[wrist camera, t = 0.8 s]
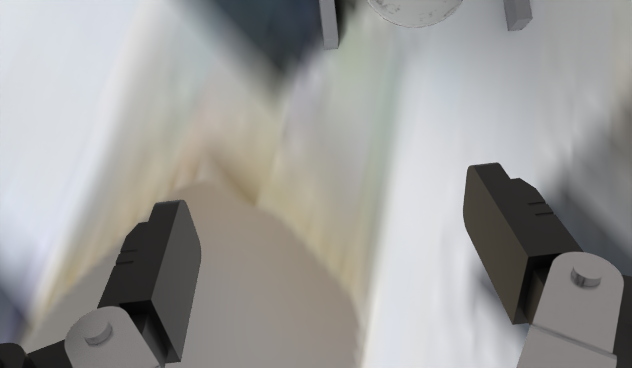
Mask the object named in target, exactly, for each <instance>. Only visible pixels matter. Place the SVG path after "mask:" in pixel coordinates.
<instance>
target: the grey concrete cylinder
mask: <svg viewBox="0 0 632 368" xmlns="http://www.w3.org/2000/svg"><path fill="white" fill-rule="evenodd" d="M367 1H368V3H369V4H370V5H371V7H372V8H373V9H374V10H375V11H376V12H377V13H378V14H379V15H381V16H382V17H383V18H384V19H386V20H388V21H390V22H392V23H394V24H397V25H401V26H405V27H425V26H430V25H434V24H436V23H438V22H440V21H443V20H444V19H446V18H447V17H448V16H450V15H451V14H452V13H453V12H454V11H455V10H456V9H457V8H458V7H459V5H460V4H461V2H462V0H367Z"/></svg>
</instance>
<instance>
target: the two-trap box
mask: <svg viewBox="0 0 632 368" xmlns="http://www.w3.org/2000/svg"><path fill="white" fill-rule="evenodd" d="M503 1H504V7H505V13H506V19H507V25H508V31H512V30H522V29H523V28H524V27H525V26H526V25H527V24H528V23H529V21H530V20H531V19H532V13H531V8H530V2H529V0H503ZM319 8H320V17H321V27H322V36H323V45H324V50H328V49H338V31H337V22H336V13H335V4H334V0H319Z"/></svg>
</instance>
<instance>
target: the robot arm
mask: <svg viewBox="0 0 632 368" xmlns="http://www.w3.org/2000/svg"><path fill="white" fill-rule="evenodd" d="M463 218H464V223H465V227H466V230H467V232H468V234H469V236H470V238H471V241H472V243H473V245H474V247H475V249H476V251H477V253H478V255H479V257H480V259H481V261H482V263H483V265H484V267H485V269H486V271H487V273H488V275H489V277H490V279H491V282H492V284H493V286H494V288H495V290H496V292H497V294H498V296H499V298H500V300H501V302H502V304H503V306H504V308H505V310H506V312H507V314H508V316H509V318H510V321H511V323H512V325H514V324H523V323H529V325H530V329H529V332H528V335H527V338H526V341H525V344H524V347H523V350H522V353H521V356H520V359H519V362H518V365H517V368H632V277H631V276H625V275H621V273H620V272H619V271H618V270H617V268H615V267H614V266H613V265H612V264H611V263H609V262H608V261H606V260H605V259H603V258H601V257H598V256H596V255H593V254H589V253H584V252H583V250H582V249H581V248H580V246H579V245H578V244H577V242H576V241H575V240H574V238H573V237H572V236H571V234H570V233H569V232H568V230H567V229H566V228H565V226H564V225H563V224H562V223H561V221H560V220H559V219H558V217H557V216H556V215H554V214H553V211H552V209H551V208H550V207H549V205H548V204H546V203H545V200H544V199H543V197H542V196H541V195H540V193H539V192H538V191H537V189H536V188H534V187H533V186H531V185H530V184H528V183H527V182H525V181H523V180H522V179H520V178H516V179H510V178H509V176H508V175H507V173H506V172H505V171H504V169H503V168H502V166H501V165H500V164H499V163H488V164H480V165H472V166H469V167H468V170H467V176H466V186H465V195H464V205H463ZM120 252H121V254H119V255H118V258H117V260H116V266H114V268H113V270H112V273H111V275H110V278H109V280H108V283H107V285H106V287H105V290H104V292H103V295H102V297H101V300H100V302H99V304H98V307H97V309H96V310H94V311H91V312H89V313H87V314H86V315H84V316H83V317H82V318H80V319H79V320H78V321H77V322H76V323H75V324H74V325H73V326H72V327H71V329H70V330H69V332H68V334H67V336H66V339H64V340H62V341H60V342H57V343H55V344H52V345H49V346H47V347H44V348H41V349H39V350H36V351H34V352H31V353H28V354H26V352H25V351H24V350H23V349H22V347H21V346H19V345H18V344H14V343H3V344H0V368H165V363H174V362H181V358H182V352H183V348H184V342H185V338H186V333H187V327H188V323H189V318H190V312H191V308H192V303H193V297H194V293H195V287H196V283H197V278H198V273H199V267H200V263H201V246H200V241H199V238H198V235H197V232H196V229H195V226H194V224H193V221H192V218H191V215H190V212H189V209H188V206H187V204H186V202H185V201H184V200H175V201H167V202H158V203H155V205H154V207H153V210H152V213H151V215H150V218H149V221H148V222H142V223H138V224H137V225H136V227H135V228H134V229H133V230H132V231H131V232H130V233H129V234H128V235H127V236H126V238H125V241H124V243H123V246H122V248H121V251H120Z"/></svg>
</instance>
